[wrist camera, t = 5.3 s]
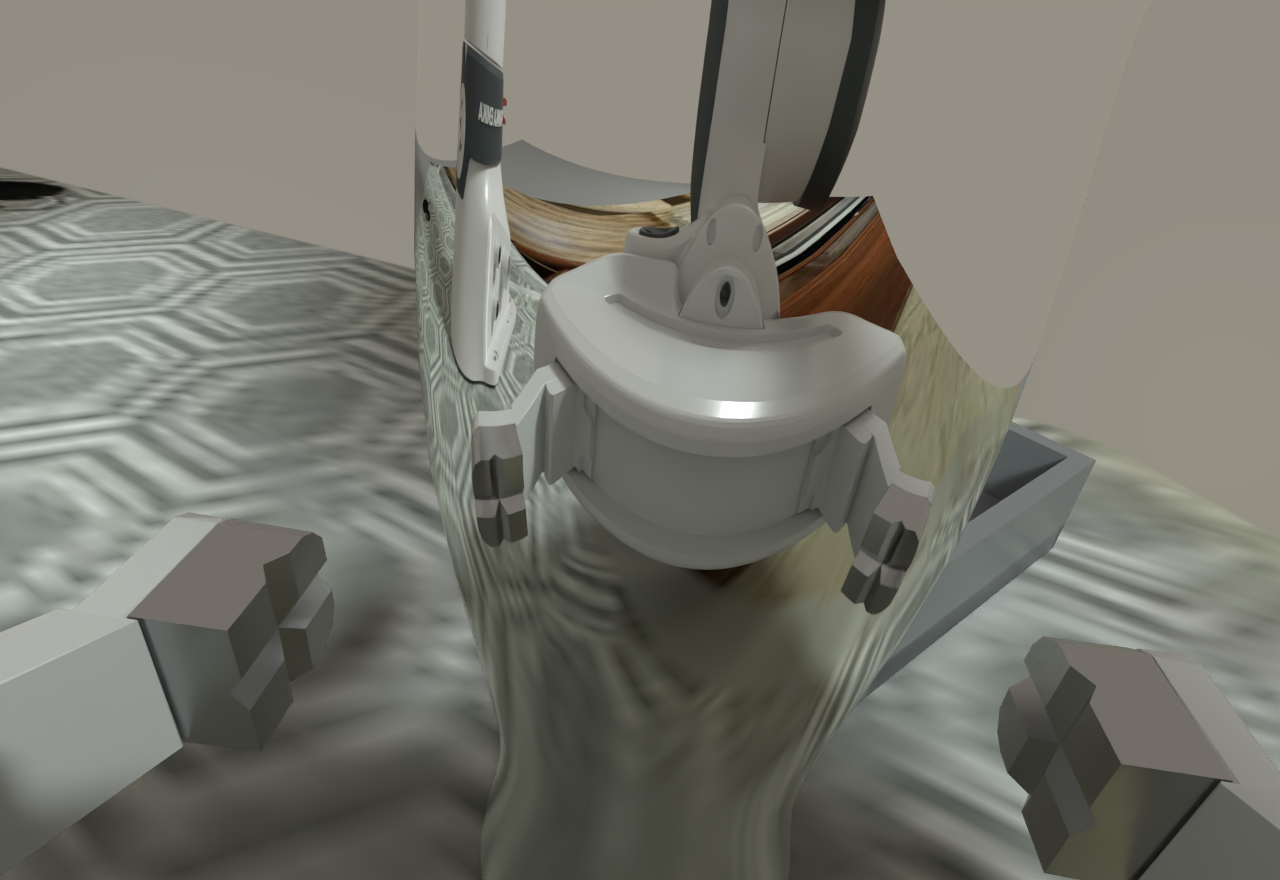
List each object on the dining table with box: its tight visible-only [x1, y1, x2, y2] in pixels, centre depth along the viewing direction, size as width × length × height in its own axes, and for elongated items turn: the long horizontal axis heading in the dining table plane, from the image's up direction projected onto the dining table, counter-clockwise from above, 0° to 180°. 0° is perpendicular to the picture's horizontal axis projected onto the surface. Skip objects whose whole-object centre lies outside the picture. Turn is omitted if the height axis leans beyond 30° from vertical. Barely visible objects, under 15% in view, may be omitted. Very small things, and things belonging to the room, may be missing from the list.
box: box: [857, 422, 1096, 704], centre depth 24 cm, size 11×11×4 cm
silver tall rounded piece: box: [414, 0, 1152, 880], centre depth 11 cm, size 7×7×15 cm
